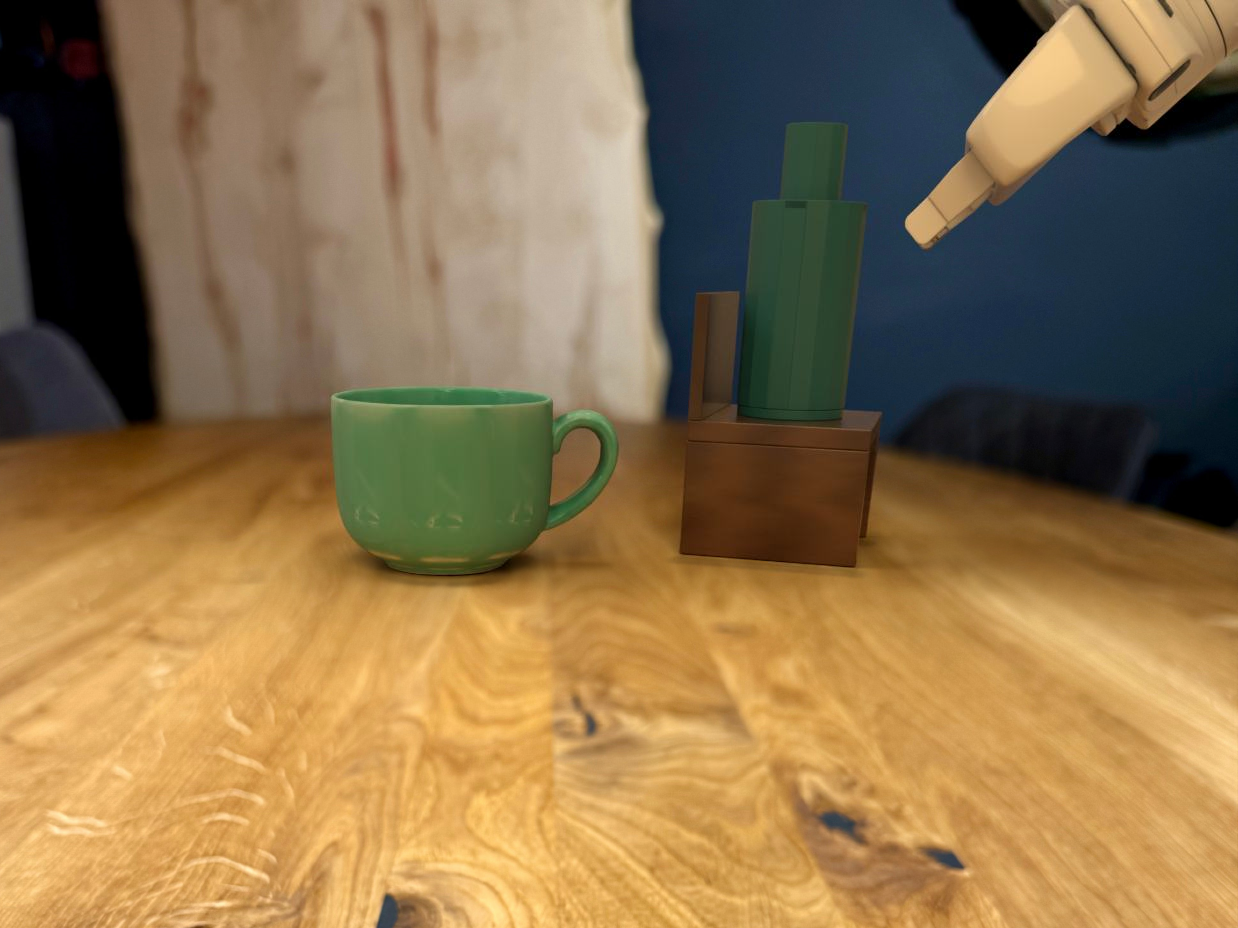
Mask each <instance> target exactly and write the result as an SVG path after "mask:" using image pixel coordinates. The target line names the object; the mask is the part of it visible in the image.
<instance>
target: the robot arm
mask: <svg viewBox="0 0 1238 928" xmlns="http://www.w3.org/2000/svg"><path fill="white" fill-rule="evenodd" d="M1048 1H1049V6H1050V7H1049V8H1050V10H1051V13H1052V16H1053V18H1054V20H1055V23H1054V24H1053V25H1052V26H1051V27H1049V30H1048V31H1046V32H1045V33H1044V34H1043V35H1042V36H1041V37H1040V38H1039V39H1038V40H1037V41H1036V46H1034V47H1033V49H1031V51H1030V52H1029V53H1028V54H1027V56H1026V57H1025V58H1024V59H1023V60H1022V61H1021V62H1020V64H1019V65H1018V66H1017V67H1016V68H1015V70H1014V71H1013V72H1011V74H1010V76H1009V77H1007V79H1006V80H1005V81H1004V82H1003V83H1002V84H1001V86H1000V87H999V88H998V89H997V90H996V92H995V93H994V94H993V95H992V97H991V98H990V99H989V100H988V101H987V102H986V104H985V105H984V106H983V108H981V110H980V112H979V113H978V114H977V116H976V117H975V118H974V119H973V121H972V122H971V124H970V126H969V127H968V129H967V130H966V133H965V146H964V156H963V157H961V159H960V160H958V162H957V163H956V164H955V165H953V167H951V169H950V170H949V171H948V173H946V175H944V177H943V178H942V179H941V180H940V182H939V183H938V184H937V185H936V186H935V187H934V189H933V190H931V192H930V193H929V195H928V196H927V197H926V198H925V199H924V200H923V201H922V202H920V203H919V205H918V206H917V207H915V209H914V210H913V211H912V212H910V214H908V215H907V216H906V218H905V221H904V227H905V229H906V231H907V232H908V233H909V234H910V236H911V237H912V239H913V240H914V241H915V242H916V244H917V245H918V246H919V247H920V249H921V250H925V251H928V250H930V249H932V248H933V247H934V246H935V245H936V244H937V243H939V242H940V240H942V239H943V238H944V237H945V236H946V235H947V234H948V233H949V232H950V231H952V229H954V228H955V227H957V226H958V225H959V224H961V223H962V222H963V221H964V220H966V219H967V218H968V217H969V216H971V215H972V214H974V212H976V211H977V209H979V208H980V207H981V206H982V205H983V204H984V203H985V202H986V201H987V200H988V202H989V203H990V204H991V205H992V206H995V207H996V206H997V207H998V206H1000V205H1001V204H1003V203H1004V202H1005V201H1007V200H1008V199H1010V198H1011V197H1012V196H1013V195H1014V194H1015V193H1016V192H1017V191H1018V190H1019V189H1020V188H1021V187H1022V186H1024V184H1025V183H1027V182H1028V181H1029V180H1030V179H1031V178H1032V177H1033V176H1034V175H1035V174H1036V173H1038V172H1039V170H1040V169H1042V168H1043V167H1044V166H1045V165H1046V164H1047V163H1048V162H1049V161H1050V160H1051V159H1052V158H1053V157H1055V156H1056V155H1057V153H1059V152H1060V151H1061V150H1062V149H1063V148H1064V147H1065V146H1067V145H1068V144H1069V143H1070V142H1071V141H1073V140H1074V139H1076V138H1077V137H1078V136H1079V135H1082V133H1083V132H1085V131H1086V130H1087V129H1089V128H1091V129H1092V130H1093V131H1094V132H1095V133H1098V135H1100V136H1103V137H1106V136H1108V135H1109V134H1110V133H1111V132H1112V131H1113V130H1114V129H1116V127H1117V125H1120V124H1121V123H1122V122H1123V121H1124V120H1125V119H1127V120H1128V121H1129V122H1130V123H1131V124H1133V126H1135V127H1137V128H1139V129H1141V130H1148V129H1149V128H1150V127H1151V126H1152V125H1154V124H1155V123H1156V122H1157V121H1158V120H1159V119H1160V118H1161V117H1162V116H1163V115H1165V114H1166V113H1167V112H1168V111H1169V110H1170V109H1172V107H1174V106H1175V105H1176V104H1177V103H1178V102H1179V101H1180V100H1181V99H1182V98H1183V97H1184V96H1186V95H1187V94H1188V93H1189V92H1190V91H1191V90H1192V89H1193V88H1195V87H1196V86H1197V85H1198V84H1199V83H1200V82H1201V81H1202V80H1203V79H1204V78H1205V77H1207V76H1208V75H1209V74H1210V73H1211V72H1212V71H1214V69H1216V67H1217V66H1219V65H1220V64H1221V63H1222V62H1223V61H1225V59H1227V57H1229V55H1231V54H1232V53H1233V52H1235V51H1236V50H1238V0H1048Z"/></svg>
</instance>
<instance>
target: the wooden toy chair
mask: <svg viewBox="0 0 1238 928" xmlns="http://www.w3.org/2000/svg"><path fill="white" fill-rule="evenodd" d="M740 293H741V292H740V291H735V290H734V291H733V290H732V291H729V290H727V291H709V292H696V294H695V303H694V304H695V305H694V321H693V337H692V350H691V351H692V353H691V366H690V382H689V397H688V412H687V413H688V414H687V430H686V445H685V446H686V447H685V462H684V475H683V476H684V477H683V492H682V509H681V523H680V539H679V554H683V555H695V556H696V555H697V556H707V557H708V556H709V557H718V558H719V557H721V558H733V559H746V560H758V561H759V560H760V561H773V562H784V563H798V564H809V565H822V566H837V567H849V568H855V566H856V564H857V560H858V551H859V550H858V549H859V543H860V537H861V538H866V537H867V535H868V530H869V521H870V514H871V513H870V512H871V505H872V498H873V497H872V496H873V489H874V482H875V472H876V466H877V457H878V449H879V444H880V443H879V442H880V441H879V440H880V435H881V425H882V417H883V412H882V411H873V410H871V411H870V410H853V409H852V410H851V409H843V416H842V418H840V419H836V420H826V421H790V420H772V419H761V418H753V417H747V416H742V415H739V414H737V404H734V403H733V404H732V397H733V396H732V395H733V385H734V383H733V382H734V371H735V358H736V357H735V356H736V346H737V345H736V344H737V332H738V320H739V319H738V318H739V307H740Z"/></svg>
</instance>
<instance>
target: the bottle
mask: <svg viewBox="0 0 1238 928" xmlns="http://www.w3.org/2000/svg"><path fill="white" fill-rule="evenodd" d="M848 135H849V125H847V124H845V123H840V122H829V121H826V122H825V121H804V122H803V121H801V122H791V123H788V124H786V127H785V135H784V136H785V137H784V147H783V148H784V150H783V161H782V171H781V181H780V183H781V184H780V192H779V193H780V194H779V199H763V200H762V199H760V200H754V201H752V207H751V208H752V209H751V220H750V233H749V234H750V235H749V247H748V257H747V258H748V260H747V271H746V281H745V282H746V283H745V293H744V295H745V296H744V307H743V308H744V309H743V320H742V321H743V322H742V331H741V332H742V334H741V346H740V348H741V349H740V358H739V359H740V360H739V369H738V371H739V372H738V382H737V383H738V384H737V395H736V405H737V414H739V415H742V416H747V417H753V418H761V419H772V420H790V421H826V420H836V419H840V418H842V416H843V410H844V408H845V407H846V399H847V389H848V388H847V387H848V379H849V371H850V362H851V354H852V352H851V351H852V345H853V336H854V326H855V319H856V311H857V302H858V294H859V293H858V291H859V286H860V285H859V283H860V275H861V266H862V258H863V249H864V239H865V233H866V232H865V231H866V222H867V216H868V215H867V213H868V203H866V202H862V201H850V200H848V201H847V200H842V190H843V184H844V183H843V182H844V172H845V163H846V154H847V146H848V145H847V144H848Z"/></svg>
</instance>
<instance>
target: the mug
mask: <svg viewBox="0 0 1238 928" xmlns="http://www.w3.org/2000/svg"><path fill="white" fill-rule="evenodd" d="M330 420H331V421H330V423H331V445H332V462H333V475H334V476H333V477H334V486H335V494H336V502H337V508H338V513H339V515H340V519H341V522H342V524H343V527H344V528H345V531H346V532H347V533H348V535H349V536H350V537H351V539H352V541H354V543H356V544H357V545H358V546H359V547H360V548H361V549H363V550H364V551H366V553H369V554H371V555H373V556H374V557H376V558H378V559H381V560H383V561H384V562H385V564H386V565H387V566H388V567H389V568H391V569H393V570H396V571H400V572H403V573H409V574H410V573H411V574H417V575H440V576H448V575H449V576H450V575H467V574H468V575H470V574H478V573H485V572H489V571H492V570H496V569H498V568H500V567H502V566H503V565H504V564H505V563H506V562H507V560H510V559H512V558H513V557H516V556H517V555H519V554H521V553H523V552H525V551H526V550H527V549H529V547H531V546H532V545H533V544H534V543H535V542H536V540H537V539H538V538H539V536H540V535H541V534H542V533H543V532H545V531H550V530H552V529H555V528H557V527H559V526H560V527H561V526H562V525H564V524H565V523H567V522H570V521H571V520H572V519H574V518H575V517H576V516H579V515H580V514H581V513H582V512H584V511H585V510H586V509H587V508H588V507H590V506H591V505H592V504H593V503H594V502H595V501H596V500H597V499H598V497H599V496H600V495H601V493H602V492H603V491H604V489H606V487H607V485H608V483H609V482H610V480H611V478H612V476H613V474H614V471H615V470H616V467H617V464H618V458H619V455H620V454H619V453H620V446H619V440H618V435H617V432H616V429H615V428H614V425H612V423H611V421H610V420H609V419H608V418H607V417H606V416H605V415H603V414H602V413H600V412H598V411H595V410H590V409H576V410H572V411H568V412H566V413H563V414H562V415H560V416H558V417H557V418H555V419H554V401H553V399H552V397H550V396H548V395H546V394H543V393H538V392H533V391H525V390H515V389H507V388H493V387H492V388H491V387H490V388H489V387H475V386H474V387H473V386H472V387H471V386H396V387H393V386H392V387H376V388H364V389H351V390H345V391H341V392H337V393H334V394H332V395H331V397H330ZM578 429H587V430H589V431H590V432H592V433H594V434H595V437H597V439H598V441H599V444H600V445H599V446H600V449H599V459H598V463H597V465H596V467H595V469H594V471H593V473H592V474H591V475H590V476H589V478H588V479H587V480H586V481H585V483H584V484H582V486H580V487H579V488H578V489H576V490H575V491H574V492H573V493H571V494H570V495H569V496H567V497H566V498H564V499H562V500H560V501H558V502H555V503H553V504H551V496H552V495H551V494H552V485H553V484H552V482H553V481H552V479H553V461H554V460H553V459H554V456H555V455H558V454H559V453H560V451H561V447H562V444H563V442H564V439H565V438H566V437H567V435H568V434H569V433H571V432H573V431H574V430H578Z"/></svg>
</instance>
